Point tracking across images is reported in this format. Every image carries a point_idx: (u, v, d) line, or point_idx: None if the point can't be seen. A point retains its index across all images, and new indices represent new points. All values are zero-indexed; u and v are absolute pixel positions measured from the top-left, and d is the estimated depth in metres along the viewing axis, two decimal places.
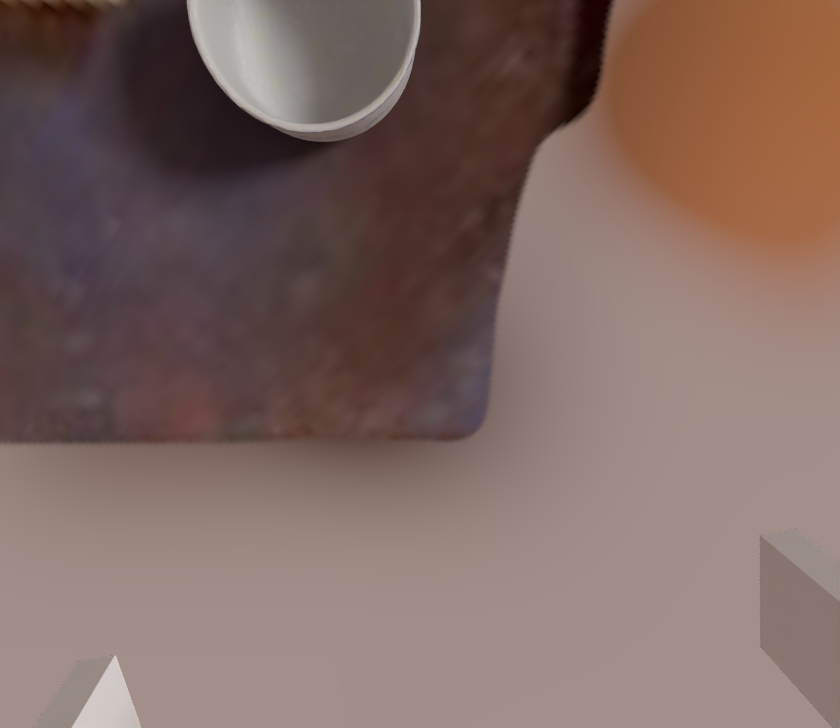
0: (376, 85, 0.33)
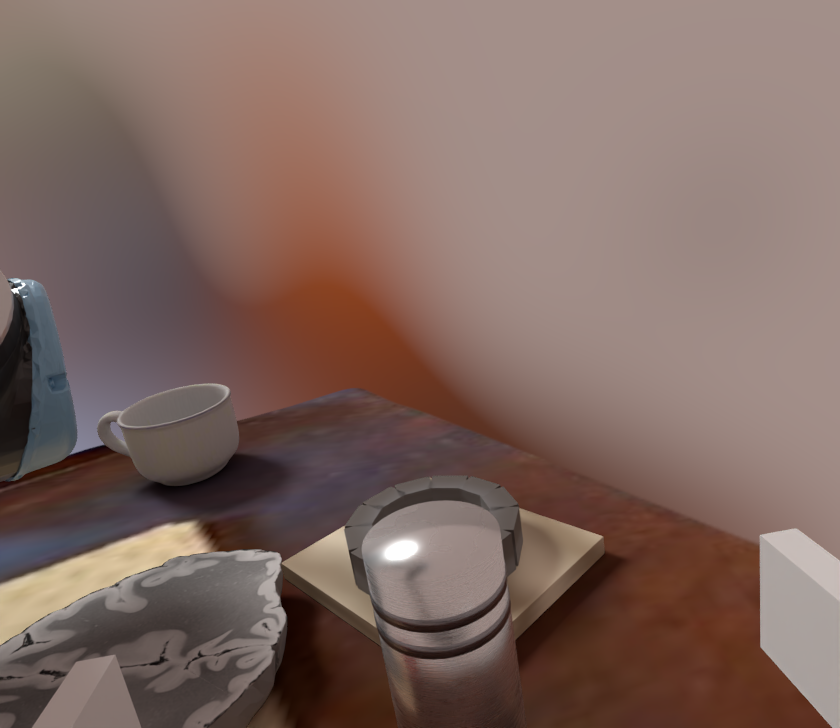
0: None
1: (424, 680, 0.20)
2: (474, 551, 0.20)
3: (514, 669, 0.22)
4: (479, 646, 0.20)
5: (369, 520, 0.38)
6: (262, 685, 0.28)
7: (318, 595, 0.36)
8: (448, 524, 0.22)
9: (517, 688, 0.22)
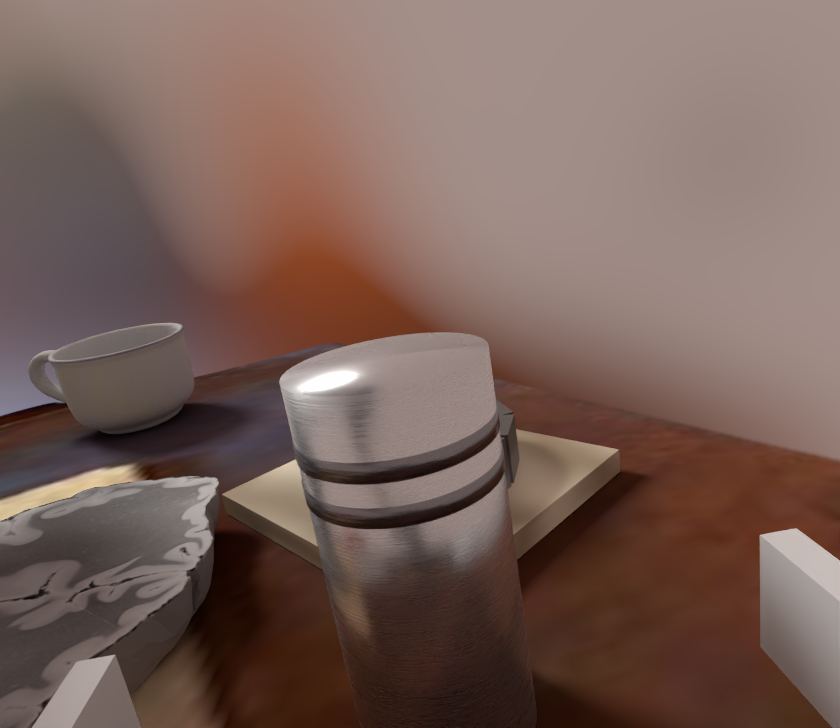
0: None
1: (373, 566, 0.13)
2: (447, 364, 0.13)
3: (511, 560, 0.15)
4: (457, 509, 0.13)
5: None
6: (169, 619, 0.21)
7: (263, 526, 0.29)
8: (412, 349, 0.15)
9: (516, 591, 0.15)
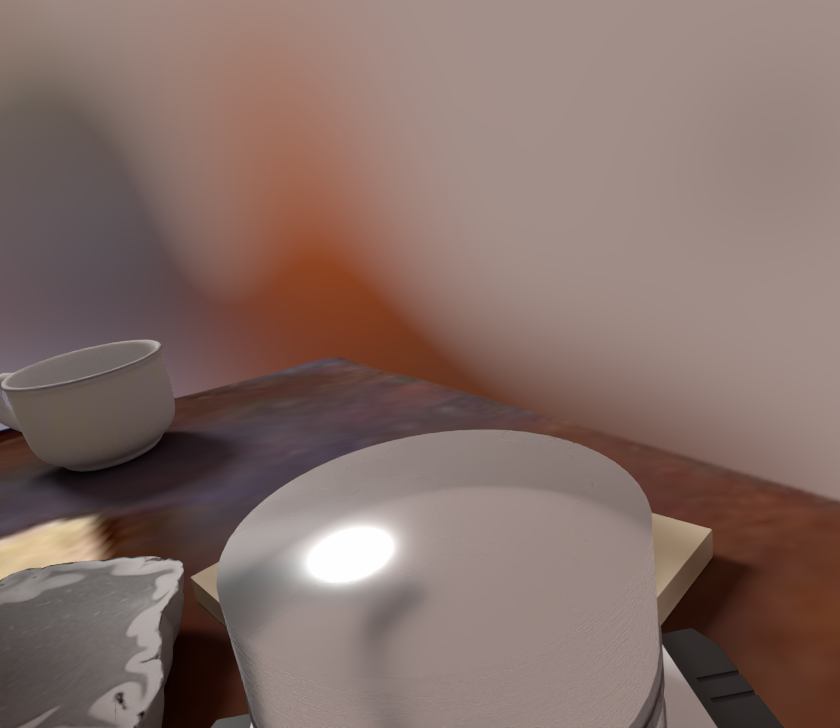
0: None
1: None
2: (580, 556, 0.06)
3: None
4: None
5: None
6: None
7: None
8: (480, 480, 0.08)
9: None
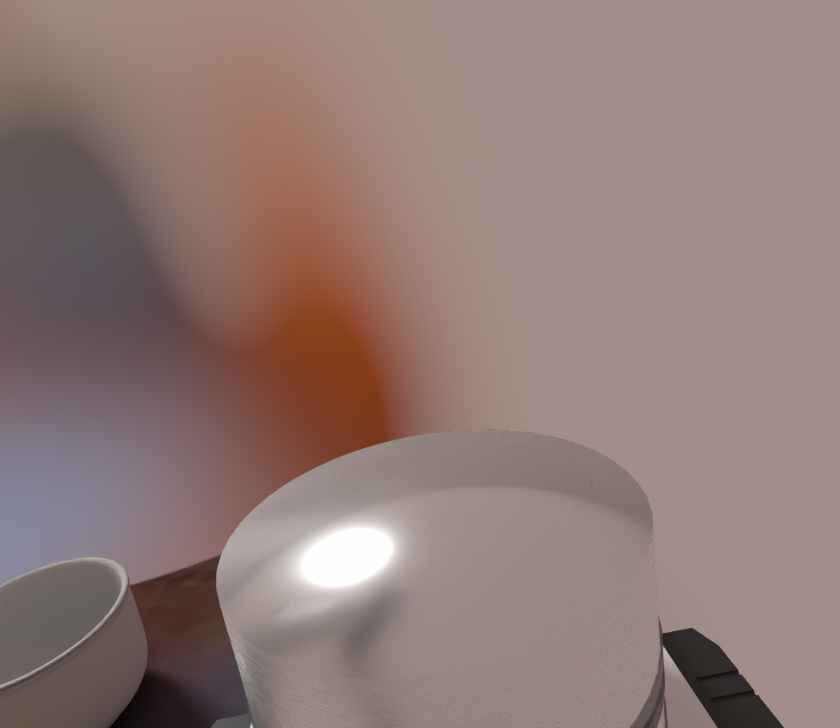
0: None
1: None
2: (580, 556, 0.06)
3: None
4: None
5: None
6: None
7: None
8: (480, 480, 0.08)
9: None
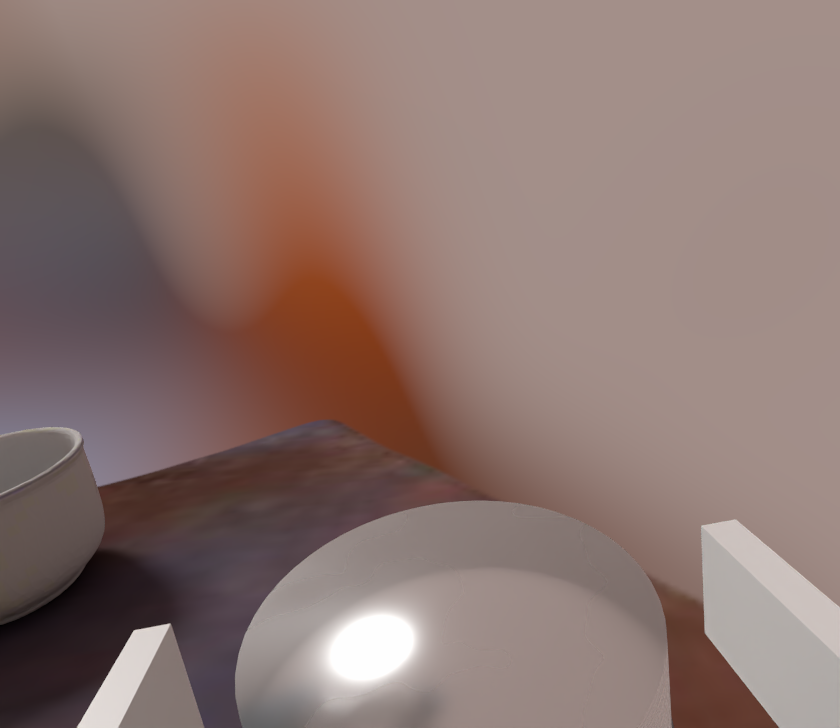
0: None
1: None
2: (595, 675, 0.06)
3: None
4: None
5: None
6: None
7: None
8: (492, 569, 0.08)
9: None
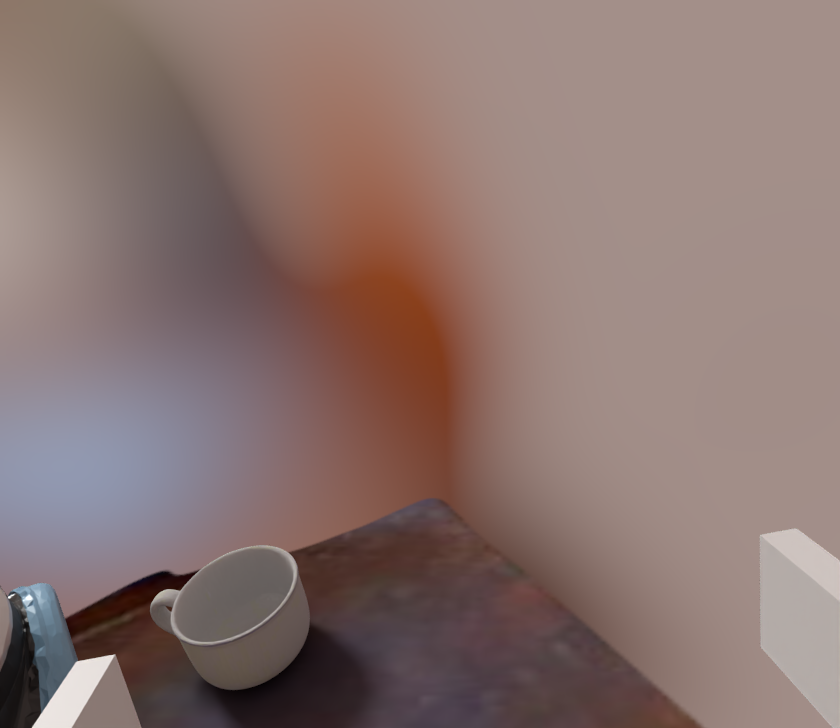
0: (268, 611, 0.55)
1: None
2: None
3: None
4: None
5: None
6: None
7: None
8: None
9: None
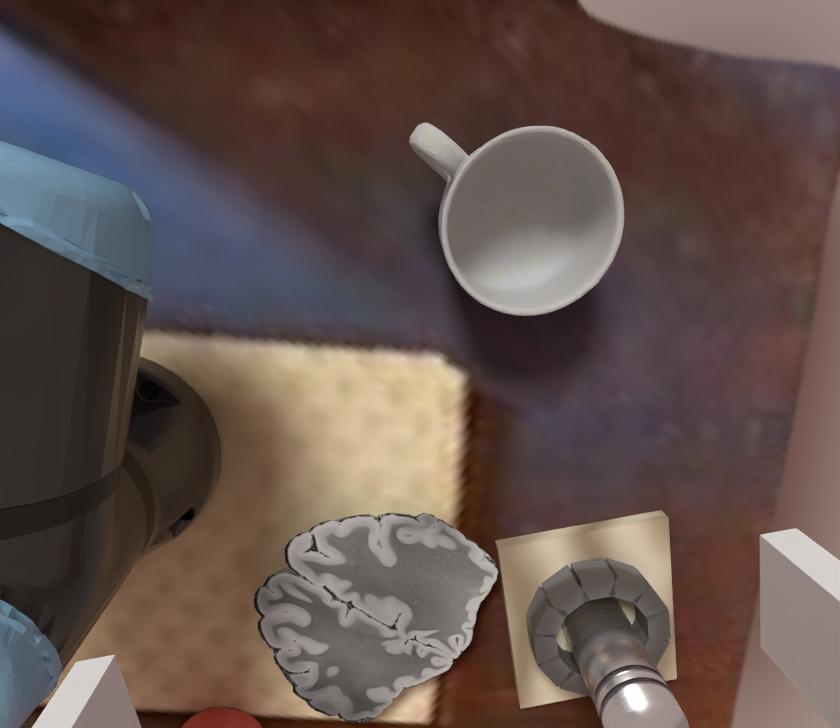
0: (540, 173, 0.39)
1: None
2: None
3: None
4: None
5: (568, 610, 0.45)
6: None
7: (503, 590, 0.48)
8: None
9: None
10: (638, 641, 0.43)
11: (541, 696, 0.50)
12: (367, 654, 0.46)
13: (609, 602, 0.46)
